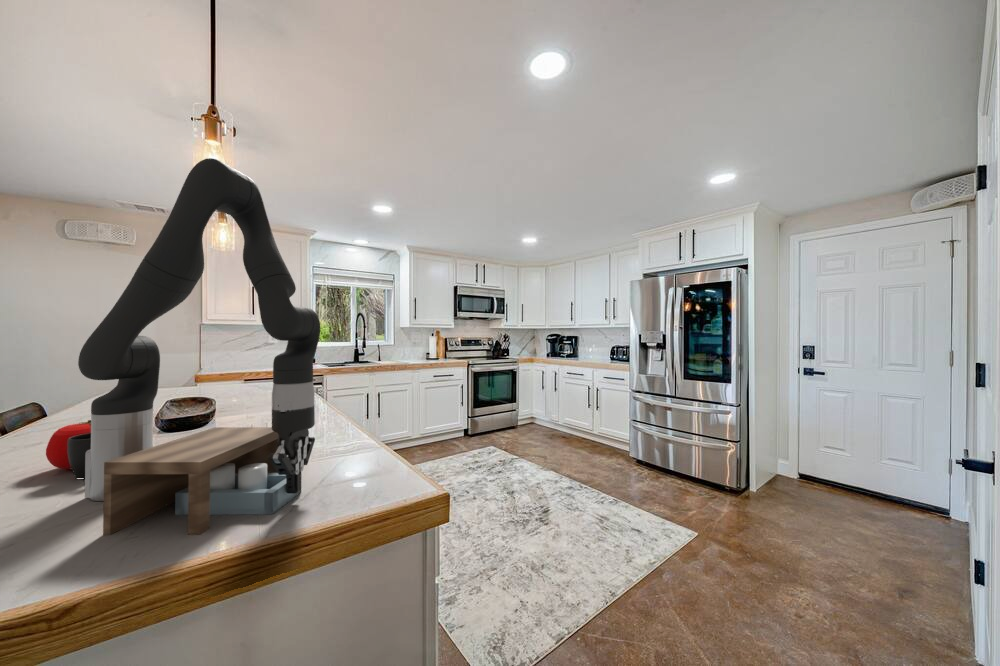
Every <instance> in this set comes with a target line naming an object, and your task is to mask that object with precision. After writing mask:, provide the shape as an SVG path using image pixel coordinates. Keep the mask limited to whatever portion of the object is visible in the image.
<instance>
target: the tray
mask: <svg viewBox="0 0 1000 666" xmlns="http://www.w3.org/2000/svg"><path fill="white" fill-rule="evenodd" d="M301 492H302V489H301V490H300V491H298V492H297V493H292V494H288V493H287V492H286V475H279V474H278V473H267V464H266V463H254V464H249V465H245V466H242V467H240V468H239V469H238V473H235V464H233V463H224V464H222V465H220V466H217V467H215V468H213V469H211V470H210V514H209V516H210V515H214V516H215V515H217V516H218V515H274V514H275V513H277V512H278V511H279V510H280V509H281V508H283V507H284V506H285V505H287V502H288V503H289V502H291V501H292V500H293V499H294V498H296V497H297V496H298V495H299V494H300V493H301ZM297 494H298V495H297ZM296 495H297V496H296ZM291 499H292V500H291ZM282 506H283V507H282ZM174 515H175V516H177V515H179V516H184V515H187V516H188V487H187V488H185V489H183V490H181V491H178V492H176V493H175V502H174Z"/></svg>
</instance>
